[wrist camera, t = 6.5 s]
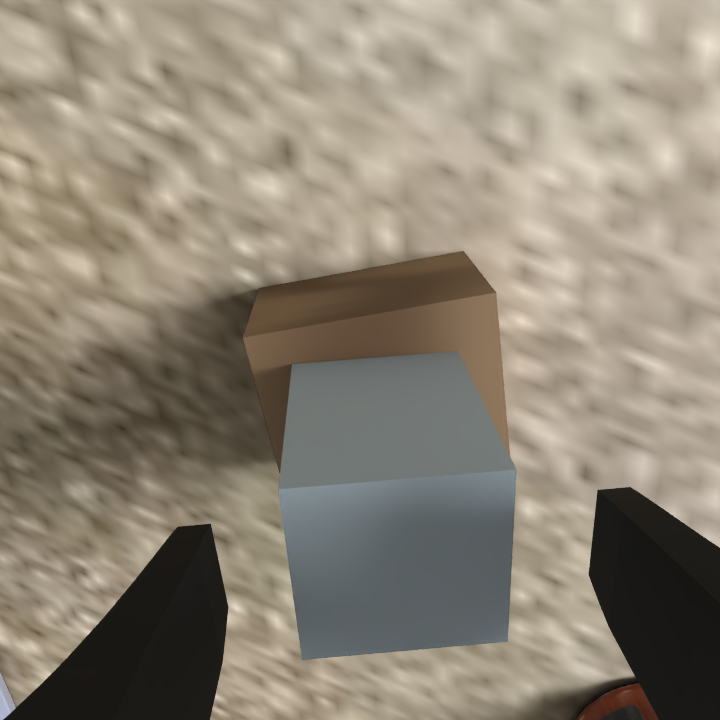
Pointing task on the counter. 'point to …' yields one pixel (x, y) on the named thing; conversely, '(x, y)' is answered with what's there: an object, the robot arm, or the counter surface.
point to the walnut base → (376, 328)
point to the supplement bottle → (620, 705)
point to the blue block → (395, 507)
